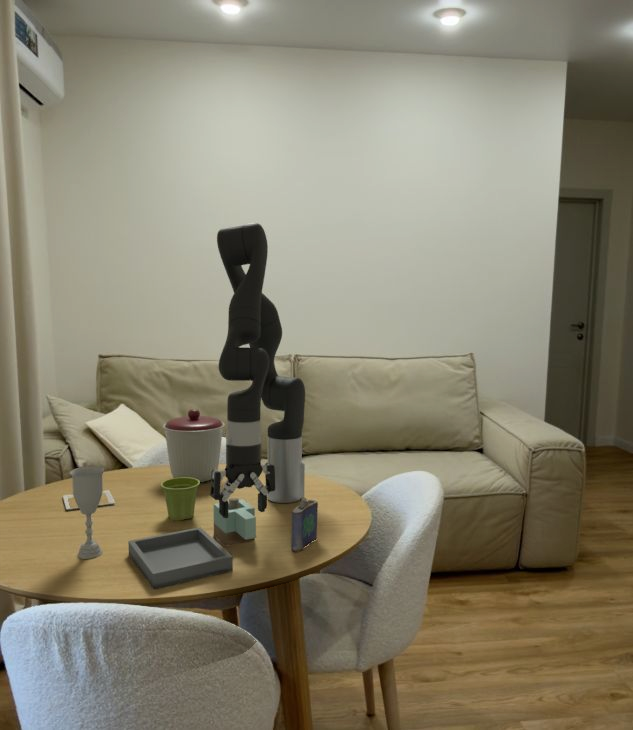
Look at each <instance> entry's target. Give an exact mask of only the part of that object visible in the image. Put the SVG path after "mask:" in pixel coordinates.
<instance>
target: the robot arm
mask: <svg viewBox="0 0 633 730" xmlns="http://www.w3.org/2000/svg"><path fill="white" fill-rule="evenodd" d="M216 243H217V248H218V249H217V250H218V253H219V256H220V259H221V261H222V264H223V267H224V270H225V272H226V275H227V278H228V280H229V283H230V286H231V289H232V291H233V295H232V296H231V299H230V302H229V306H228V317H227V318H228V322H227V324H228V325H227V326H228V329H227V336H226V339H225V343H224V344H223V345H224V346H223V348H222V351H221V353H220V356H219V361H218V371H219V374H220V376H221V377H222V378H223V379H225V380H227V381H231V382H234V381H235V382H237V381H241V382H242V381H245V382H246V381H252V383H251V384H250V386H249V387H248V388H246V389H243V390H237V391H234V392H231V393H229V394H228V396H227V403H226V404H227V406H226V407H227V410H226V411H227V422H226V429H225V468H224V469H222V470H221V469H218V471H217V470H215V469H213V470H212V472H211V480H210V489H209V492H210V493H209V496H210V497H211V498H213V499H214V500H215V501H218V503H219V513H220V515H222V517H223V518H228V501H229V499H230V498H231V495H232V494H234V493H235V491H236V489H239V490H240V489H241V490H242V489H243V488H252V487H253V486H254V487H255V488H256V490H257V491H258V492H259V493H257V509H258V511H259V512H260V513H264V512H265V511H266V510H267V507H268V500H269V502H273V503H277V504H291V503H295V502H298V501H300V500H301V499H303V498H304V497H305V488H306V487H305V484H306V483H305V482H306V481H305V478H306V477H305V476H306V475H305V472H306V471H305V470H306V469H305V467H306V466H305V463H304V462H303V460H302V459H303V457H302V455H303V451H302V450H303V444H302V443H303V439H302V438H303V436H302V435H303V427H304V422H305V407H306V405H305V404H306V388H305V383H304V381H303V380H302V379H301V378H300V377H292V376H283V375H281V376H280V375H278V372H277V370H276V364H275V357H276V355H277V354H276V353H277V351H278V350H279V349H278V348H279V346H280V343H281V341H282V338H283V327H282V324H281V320H280V316H279V312H278V309H277V307H276V306H275V303H273V302H272V301H271V300H270V299H269V297H267V295H265V294H264V293H263V287H264V281H265V275H266V268H267V260H268V248H269V247H268V239H267V234H266V232H265V230H264V228H263V226H262V224H260V223H258V222H251V223H243V224H237V225H233V226H227V227H223V228H220V229H218V232H217V234H216ZM245 265H249V267H248V270H247V272H246V273H245V271H244V269H243V267H242V266H245ZM246 345H249V347H242V346H246ZM262 403H263V405H264V407H266V408H267V409H269V410H271V411H280V412H284V413H283V419H282V420H281V421H277V422H274V423H270V424H269V425H268V426H267V462H266V463H264V464H262V463H261V462H262V439H263V434H262V424H261V405H262ZM262 473H263V474H265V485H264V484H263V482H262V481H261V480H260V475H261V474H262ZM224 477H226V481H225V482H224V484H223V486H222V489H221V482H222V481H223V479H224ZM300 497H303V498H301V499H300ZM299 499H300V500H299Z"/></svg>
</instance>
